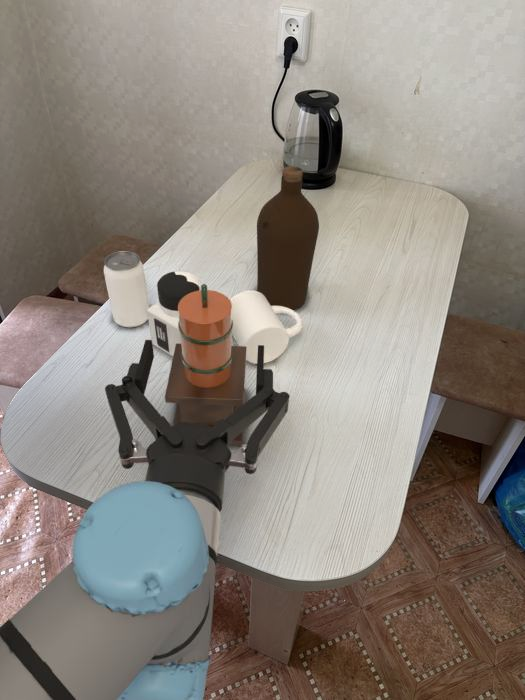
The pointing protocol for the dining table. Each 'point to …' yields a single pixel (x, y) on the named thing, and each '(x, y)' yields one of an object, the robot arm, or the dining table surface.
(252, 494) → the dining table surface
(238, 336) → the mug
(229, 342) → the banded candle
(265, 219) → the olive oil
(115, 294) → the can
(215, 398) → the stand
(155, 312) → the container
